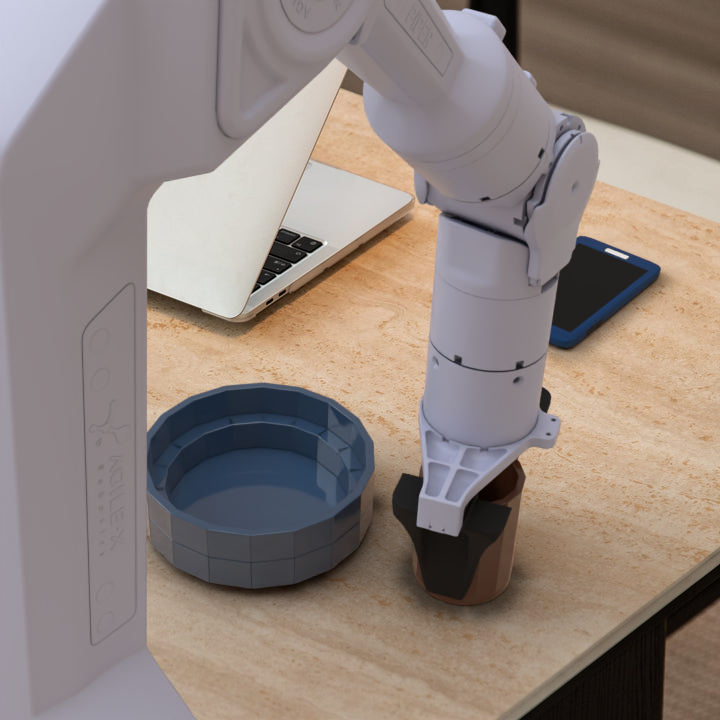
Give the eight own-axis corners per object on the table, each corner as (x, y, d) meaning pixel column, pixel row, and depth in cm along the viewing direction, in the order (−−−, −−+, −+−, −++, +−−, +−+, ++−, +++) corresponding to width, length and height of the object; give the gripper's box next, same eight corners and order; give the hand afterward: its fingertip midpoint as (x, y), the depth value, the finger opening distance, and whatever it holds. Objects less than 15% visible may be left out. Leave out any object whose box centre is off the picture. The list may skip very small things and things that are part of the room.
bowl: (296, 631, 64) (297, 569, 62) (95, 538, 69) (88, 477, 67) (411, 488, 74) (416, 429, 71) (226, 416, 79) (225, 358, 76)
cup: (486, 620, 65) (500, 522, 61) (394, 581, 68) (401, 483, 63) (526, 557, 69) (541, 462, 65) (438, 522, 71) (447, 427, 67)
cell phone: (663, 274, 94) (665, 265, 94) (567, 352, 86) (568, 343, 85) (580, 241, 98) (581, 232, 98) (479, 312, 89) (480, 304, 89)
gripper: (537, 447, 53) (504, 661, 61) (598, 280, 64) (564, 479, 72) (380, 409, 55) (367, 622, 62) (466, 253, 66) (447, 450, 74)
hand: (464, 544), depth 67 cm, fingers open, 7 cm apart
